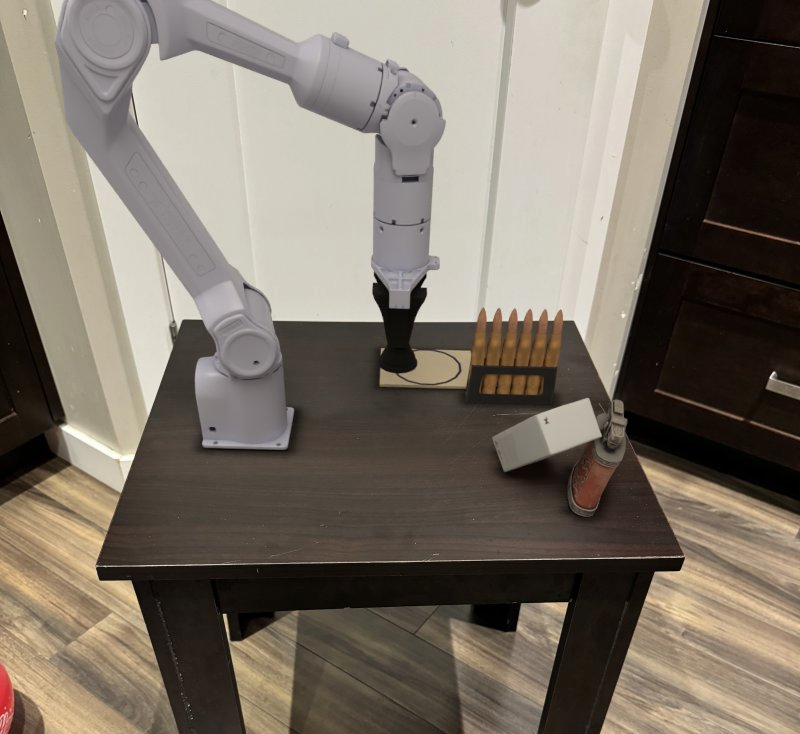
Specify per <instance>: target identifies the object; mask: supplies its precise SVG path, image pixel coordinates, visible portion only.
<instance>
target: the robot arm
mask: <svg viewBox="0 0 800 734" xmlns="http://www.w3.org/2000/svg"><path fill="white" fill-rule="evenodd" d="M61 3H62V4H61V7H60V12H59V17H58V21H57V25H56V30H55V33H54V40H53V42H54V47H55V50H56V54H57V55H56V56H57V60H58V68H59V76H60V77H59V78H60V84H61V94H62V101H63V109H64V116H65V121H66V124H67V126H68V127H69V130H70V132H71V133H72V134H73V136H74V137H75V138H76V140H77V142H78V143H79V144H80V146H81V147H82V149H84V151H85V152H86V153H87V155H88V157H89V158H90V159H91V161H92V162H93V163H94V165H95V166H96V167H97V169H98V170H99V171H100V172H101V175H102V176H103V177H104V179H105V180H106V181H107V183H108V184H109V185H110V187H111V188H112V190H113V191H114V192H115V194H116V195H117V196H118V198H119V199H120V200H121V202H122V204H123V205H124V206H125V207H126V209H127V210H128V212H129V213H130V214H131V216H132V217H133V219H134V220H135V222H137V224H138V226H139V227H140V228H141V229H142V231H143V232H144V234H145V235H146V236H147V238H148V239H149V240H150V242H151V243H152V244H153V246H154V248H155V249H156V250H157V251H158V253H159V254H160V255H161V257H162V258H163V259H164V261H165V262H166V264H167V265H168V266H169V268H170V269H171V270H172V272H173V274H174V275H175V276H176V278H177V279H178V280H179V281H180V283H181V284H182V286H183V287H184V289H185V290H186V291H187V293H188V294H189V296H190V297H191V298H192V300H193V302H194V304H195V306H196V308H197V311H198V313H199V316H200V318H201V320H202V322H203V324H204V327H205V329H206V331H207V332H208V334H209V335H210V336H211V338H212V339H213V342H214V343H215V348H216V352H214V354H213V355H211V356H203V357H200V358H198V360H197V362H196V366H195V371H194V372H195V373H194V392H195V400H196V405H197V411H198V417H199V423H200V429H201V435H202V443H201V446H202V447H203V448H205V449H229V450H230V449H234V450H235V449H237V450H271V451H272V450H275V451H286V450H287V449H288V448H289V443H290V437H291V433H292V427H293V421H294V415H295V408H293V407H290V406H287V400H286V386H285V375H284V360H283V354H282V352H281V345H280V340H279V338H278V335H277V334H276V330H275V326H274V322H273V318H272V317H273V316H272V307H271V302H270V301H269V299H268V298H267V296H266V294H264V292H263V291H261V290H260V289H259V288H257V287H256V286H254V285H252V284H250V283H249V282H248V281H247V280H246V279H245V278H244V276H243V275H242V273H241V272H240V271H239V269H238V268H236V267H235V266H233V265H232V264H230V262H229V261H228V260H227V258H226V256H225V255H224V254H223V252H222V250H221V249H220V247H219V246H218V244H217V243H216V241H215V240H214V238H213V237H212V235H211V234H210V232H209V230H208V229H207V228H206V226H205V224H204V223H203V221H202V220H201V219H200V217H199V215H198V214H197V213H196V211H195V210H194V208H193V206H192V205H191V204H190V202H189V201H188V199H187V197H186V196H185V195H184V193H183V191H182V190H181V188H180V187H179V186H178V184H177V182H176V181H175V179H174V178H173V176H172V175H171V174H170V172H169V170H168V169H167V167H166V166H165V164H164V163H163V161H162V160H161V158H160V156H159V155H158V153H157V152H156V150H155V149H154V148H153V146H152V145H151V143H150V141H149V140H148V138H147V137H146V135H145V134H144V133H143V131H142V130H141V128H140V126H139V124H137V122H136V120H135V119H134V117H133V116H132V114H131V113H130V105H131V101H132V100H131V99H132V94H133V85H134V81H135V80H136V78H137V76H138V75H139V74H140V71H141V70H142V67H143V66H144V64H145V62H146V60H147V59H148V56H149V54H150V52H151V51H150V50H151V48H152V45H158V54H159V55H158V56H159V61H161V62H162V61H167V60H169V59H172V58H176V57H178V56H182V55H184V54H187V53H191V52H194V51H196V52H201V53H204V54H206V55H209V56H212V57H214V58H217V59H220V60H222V61H224V62H228V63H231V64H233V65H236V66H238V67H241V68H243V69H246V70H249V71H252V72H254V73H256V74H260V75H263V76H265V77H267V78H271V79H273V80H276V81H278V82H281V83H284V84H286V85H288V86H289V89H290V90H291V93H292V96H293V98H294V100H295V102H296V104H297V106H298V107H300V108H301V109H304V110H307V111H309V112H312V113H314V114H316V115H319V116H321V117H324V118H326V119H328V120H331V121H333V122H335V123H338V124H340V125H343V126H345V127H347V128H350V129H352V130H355V131H358V132H360V133H362V134H375V135H374V162H373V193H372V194H373V195H372V196H373V198H372V199H373V202H372V203H373V205H372V206H373V207H372V208H373V209H372V220H373V221H372V255H371V257H370V267H371V269H372V271H373V277H374V279H375V281H376V282H372V288H371V293H372V297H373V299H374V301H375V303H376V305H377V307H378V309H379V311H380V315H381V317H382V323H383V327H384V334H385V338H386V342H387V343H388V346H389V347H393V348H407V347H408V344H410V341H411V337H412V333H413V329H414V325H415V321H416V318H417V315H418V313H419V311H420V309H421V307H422V306H423V304H424V303H425V301H426V299H427V297H428V287H422V286H423V285H424V282H425V281H426V279H427V276H428V272H429V271H438V270H440V265H441V262H440V261H441V260H440V257H439V256H437V255H431V254H430V242H431V223H432V207H433V206H432V205H433V191H434V189H433V188H434V171H435V168H434V158H435V157H434V155H435V148H436V147H437V146H438V144H439V143H440V141H441V139H442V137H443V135H444V133H445V130H446V129H445V128H446V123H447V121H446V119H445V118H444V117H443V108H442V105H441V102H440V99H439V98H438V97H437V94H436V93H435V92H434V91H433V90H432V89H431V88H430V87H429V86H428V85H427V84H426V83H424V81H423V80H422V79H421V78H419V76H417V75H416V74H414V73H412V72H410V70H409V69H408V68H407V67H405V66H400V65H399V63H398V62H396V61H394V60H392V59H390V58H387V59H386V60H385V62H382V61H380V60H378V59H375V58H373V57H371V56H369V55H367V54H364V53H363V52H360V51H358V50H356V49H354V48H351V47H349V46H350V40H349V38H347V36H345V35H343V34H341V33H338V32H337V31H333V32H332V34H331V36H330V37H328V36H326V35H323V34H322V33H317V34H315V35H313V36H310V37H308V38H306V39H305V40H301V41H298V42H297V41H295V40H293V39H291V38H289V37H286V36H284V35H283V34H281V33H279V32H276V31H274V30H273V29H271V28H268V27H266V26H264V25H263V24H260V23H259V22H256V21H254V20H252V19H251V18H248V17H246V16H244V15H242V14H240V13H238V12H236V11H234V10H232V9H230V8H228V7H226V6H224V5H222V4H220V3H218V2H216V1H214V0H62V2H61ZM387 343H386V344H387Z"/></svg>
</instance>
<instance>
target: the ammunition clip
mask: <svg viewBox="0 0 800 734" xmlns="http://www.w3.org/2000/svg"><path fill="white" fill-rule="evenodd" d="M517 311H518V310H517V309H516V307H514V308H513V309H512V310H511V313H510V315H509V317H508V321H507V325H506V330H505V336H504V338H503V342H502V330H503V313H502V309H501V307H497V309H496V311H495V312H494V316H493V318H492V322H491V329H490V333H489V338H488V341H487V325H488V324H487V323H488V322H487V321H488V319H487V318H488V317H487V311H486V309H485V307H482V308H481V309H480V311H479V314H478V317H477V320H476V324H475V325H476V326H475V331H474V337H473V339H472V344H471V361H470V367H469V373H468V379H467V385H466V389H465V392H464V397H465V402H466V403H481V404H483V403H485V404H527V405H528V404H529V405H530V404H531V405H532V404H533V405H551V404H553V403H554V396H555V388H556V382H557V375H558V364H559V359H560V353H561V348H562V337H563V335H562V334H563V328H564V314H563V313H564V312H563V310H562V309H559V310H558V311H557V313H556V315H555V317H554V319H553V323H552V327H551V331H550V334H549V337H548V340H547V336H548V326H549V316H548V310H547V308H544V310H543V311H542V312H541V314H540V316H539V319H538V322H537V325H536V331H535V335H534V338H533V340H532V337H533V336H532V335H533V324H534V317H533V310H532V308H528V310H527V312H526V313H525V315H524V318H523V321H522V326H521V330H520V335H519V338H518V341H517V335H518V325H519V324H518V323H519V322H518V321H519V318H518V312H517Z"/></svg>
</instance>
